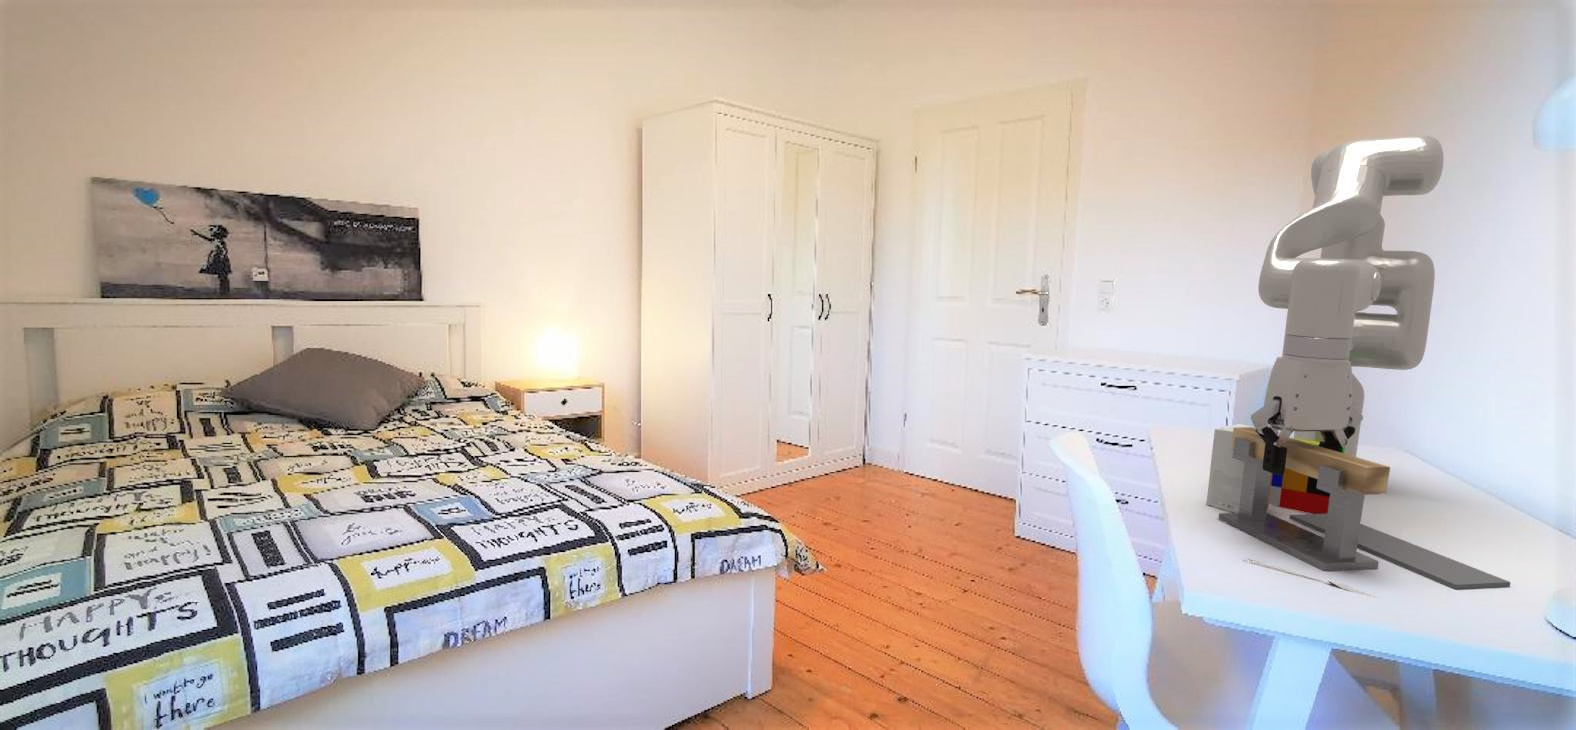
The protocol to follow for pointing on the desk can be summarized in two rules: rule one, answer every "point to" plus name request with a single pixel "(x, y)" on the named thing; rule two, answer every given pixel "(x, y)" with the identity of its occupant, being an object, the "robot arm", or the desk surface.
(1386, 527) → the desk surface
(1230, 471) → the small box
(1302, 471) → the rail
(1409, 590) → the desk surface
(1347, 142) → the robot arm
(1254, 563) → the silver long thin piece
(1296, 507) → the puzzle toy
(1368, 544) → the mat
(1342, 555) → the rack
